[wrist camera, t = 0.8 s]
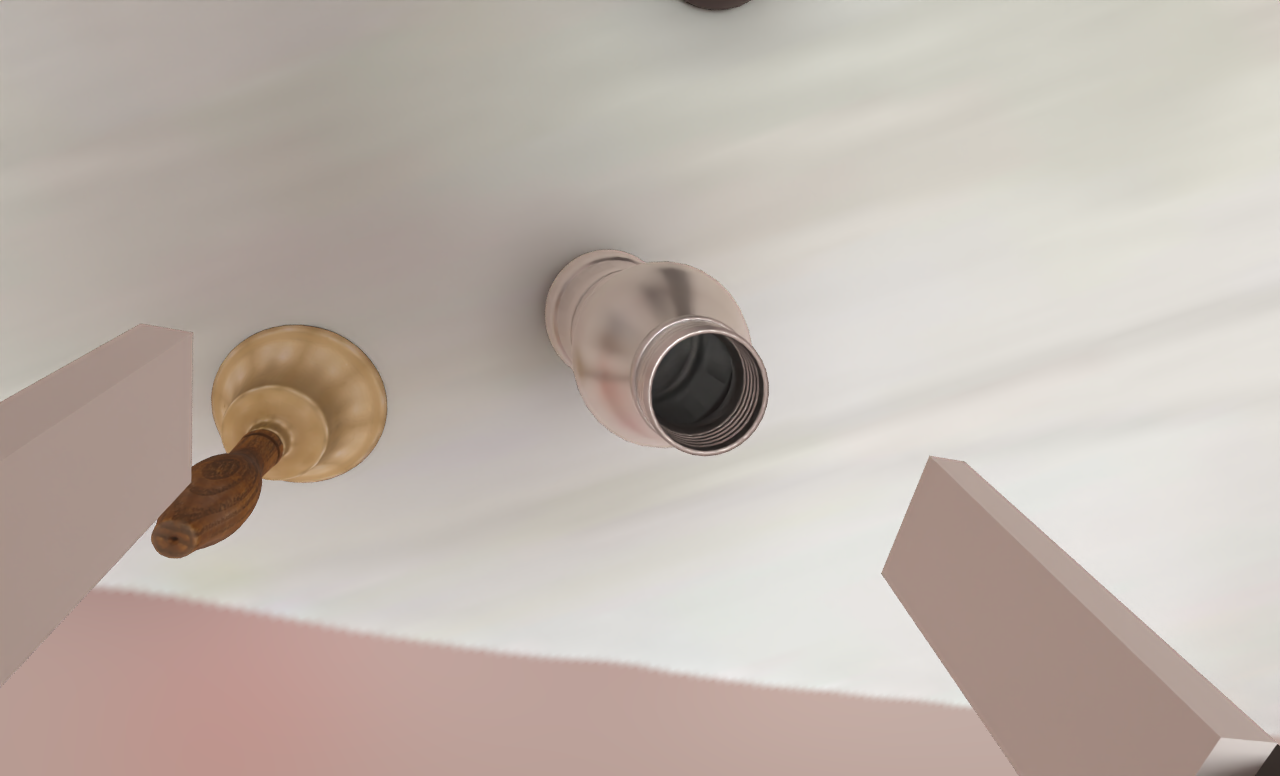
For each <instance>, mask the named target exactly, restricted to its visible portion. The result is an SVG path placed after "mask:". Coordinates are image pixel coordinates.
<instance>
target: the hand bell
mask: <svg viewBox="0 0 1280 776" xmlns="http://www.w3.org/2000/svg"><path fill="white" fill-rule="evenodd" d="M211 401H212V413H213V417H214V421H215V424H216V427H217V429H218V431H219V434H220V436H221V438H222V443H223V445H224V448H225V450H226V452H227V453H225V454H219V455H216V456H212V457H210V458H207V459H205V460H203V461H201V462H199V463H197V464H195V465H194V466H192V467H191V483H190V484H189V485H188V486H187V487H186V488H185V490H184V491H183V492H182V493H181V494H180V495H179V496H178V497H177V498H176V499H175V500H174V501H173V502H172V504H171V505H170V506H169V507H168V508H167V509H166V510H165V511H164V512H163V513H162V514H161V515H160V516H159V518H158V520H157V524H156V526H155V528H154V530H153V532H152V535H151V541H152V544H153V546H154V548H155V549H156V551H157V552H158V553H159V554H161V555H163V556H165V557H168V558H182V557H184V556H187V555H189V554H191V553H192V552H194V551H196V550H199V549H202V548H206V547H208V546H211V545H214V544H216V543H218V542H220V541H222V540H224V539H226V538H227V537H229V536H230V535H231V534H233V533H234V532H235V531H236V530H237V529H238V528H240V527H241V525H242V524H243V523H244V522H245V521H246V519H247V518H248V517H249V516H250V514H251V513H252V511H253V509H254V507H255V506H256V504H257V501H258V499H259V496H260V492H261V487H262V479H267V480H283V481H288V482H301V483H307V482H318V481H323V480H327V479H331V478H333V477H336V476H339V475H341V474H344V473H345V472H347V471H349V470H351V469H352V468H354V467H355V466H357V465H358V464H359V463H361V462H362V461H363V460H364V459H365V458H366V457H367V456H368V455H369V454H370V453H371V451H372V450H373V449H374V447H375V446H376V444H377V442H378V440H379V439H380V437H381V434H382V432H383V429H384V426H385V421H386V415H387V399H386V393H385V389H384V385H383V382H382V380H381V377H380V375H379V373H378V371H377V370H376V368H375V366H374V365H373V364H372V362H371V361H370V360H369V358H368V357H367V356H366V355H365V354H364V353H363V352H362V351H361V350H360V349H359V348H358V347H357V346H355V345H354V344H353V343H351V342H350V341H348V340H347V339H345V338H344V337H342V336H340V335H338V334H336V333H333V332H331V331H328V330H324V329H321V328H317V327H311V326H304V325H285V326H280V327H273V328H270V329H266V330H264V331H261V332H259V333H256V334H254V335H252V336H251V337H249V338H247V339H246V340H244V341H243V342H241V343H240V344H239V345H237V346H236V347H235V348H234V349H233V350H232V351H231V352H230V353H229V354H228V356H227V357H226V358H225V360H224V361H223V363H222V364H221V366H220V368H219V370H218V372H217V375H216V377H215V380H214V383H213V388H212V396H211Z"/></svg>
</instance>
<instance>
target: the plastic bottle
mask: <svg viewBox="0 0 1280 776" xmlns="http://www.w3.org/2000/svg"><path fill="white" fill-rule="evenodd" d="M545 324H546V330H547V333H548V337H549V340H550V342H551V344H552V346H553V348H554V350H555V352H556V353H557V354H558V355H559V357H560V358H561V359H562V361H563V362H564V363H566V364H567V365H568V366H569V367H570V368H571V369H572V370H573V372H574V376H575V379H576V383H577V387H578V390H579V392H580V394H581V396H582V398H583V400H584V402H585V404H586V406H587V408H588V409H589V410H590V412H591V413H592V414H593V415H594V417H595V418H596V419H597V421H598V422H600V423H601V424H602V425H603V426H604V427H605V428H607V429H608V430H609V431H610V432H611V433H613V434H615V435H617V436H619V437H620V438H622V439H624V440H626V441H629V442H632V443H635V444H638V445H641V446H648V447H657V448H672V447H675V448H677V449H678V450H681V451H683V452H686V453H689V454H692V455H699V456H711V455H718V454H722V453H725V452H728V451H730V450H732V449H734V448H736V447H738V446H739V445H740V444H742V443H743V442H744V441H745V440H747V439H748V438H749V437H750V436H751V434H752V433H753V432H754V431H755V430H756V428H757V427H758V425H759V423H760V422H761V420H762V418H763V415H764V413H765V410H766V407H767V402H768V396H769V382H768V377H767V372H766V369H765V367H764V364H763V362H762V359H761V358H760V356H759V355H758V353H757V352H756V350H755V349H754V348H753V346H752V343H751V338H750V333H749V329H748V327H747V324H746V322H745V319H744V317H743V315H742V312H741V310H740V308H739V306H738V305H737V303H736V302H735V300H734V299H733V297H732V296H731V294H730V293H729V292H728V291H727V290H726V289H725V288H724V287H723V286H722V285H721V284H720V283H719V282H718V281H717V280H716V279H714V278H713V277H711V276H710V275H708V274H706V273H705V272H703V271H702V270H699V269H697V268H694V267H691V266H689V265H686V264H681V263H675V262H669V261H664V262H648V263H645V262H644V261H642V260H641V259H639V258H638V257H636V256H634V255H631V254H629V253H626V252H623V251H617V250H611V249H610V250H596V251H593V252H589V253H585V254H583V255H581V256H579V257H577V258H575V259H574V260H573V261H571V262H570V263H569V264H567V265H566V266H565V267H564V268H563V269H562V270H561V272H560V273H559V274H558V275H557V276H556V278H555V280H554V282H553V284H552V285H551V287H550V290H549V293H548V296H547V299H546V306H545Z"/></svg>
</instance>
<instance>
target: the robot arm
mask: <svg viewBox="0 0 1280 776" xmlns="http://www.w3.org/2000/svg"><path fill="white" fill-rule="evenodd" d="M192 372H193V332H188V331H182V330H176V329H170V328H164V327H158V326H152V325H146V324H139V325H137V326H135V327H133V328H132V329H130V330H128V331H126V332H124V333H123V334H121V335H119V336H117V337H116V338H114V339H112V340H110V341H108V342H107V343H105V344H103V345H101V346H100V347H98V348H96V349H94V350H92V351H91V352H89V353H87V354H85V355H83V356H82V357H80V358H78V359H76V360H75V361H73V362H71V363H69V364H67V365H66V366H64V367H62V368H60V369H59V370H57V371H55V372H53V373H51V374H50V375H48V376H46V377H44V378H42V379H41V380H39V381H37V382H35V383H34V384H32V385H30V386H28V387H26V388H25V389H23V390H21V391H19V392H18V393H16V394H14V395H12V396H10V397H9V398H7V399H5V400H3V401H1V402H0V688H1V687H2V686H3V685H4V683H5V682H6V681H7V680H8V679H9V678H10V677H11V676H12V675H13V674H14V673H15V672H16V671H17V670H18V668H19V667H20V666H21V665H22V664H23V663H24V662H25V661H26V660H27V659H28V658H29V656H31V654H32V653H33V652H34V651H35V650H36V649H37V648H38V647H39V646H40V645H41V644H42V643H43V642H44V640H45V639H46V638H47V637H48V636H49V635H50V634H51V633H52V632H53V631H54V630H55V628H56V627H57V626H58V625H59V624H60V623H61V622H62V621H63V620H64V619H65V618H66V616H68V615H69V613H70V612H71V611H72V610H73V609H74V608H75V607H76V606H77V605H78V604H79V603H80V602H81V600H82V599H83V598H84V597H85V596H86V595H87V594H88V593H89V592H90V591H91V590H92V589H93V588H94V587H95V585H96V584H97V583H98V582H99V581H100V580H101V579H102V578H103V577H104V576H105V575H106V574H107V573H108V571H109V570H110V569H111V568H112V567H113V566H114V565H115V564H116V563H117V562H118V561H119V560H120V559H121V557H122V556H123V555H124V554H125V553H126V552H127V551H128V550H129V549H130V548H131V547H132V546H133V545H134V543H135V542H136V541H137V540H138V539H139V538H140V537H141V536H142V535H143V534H144V533H145V532H146V530H147V529H148V528H149V527H150V526H151V525H152V524H153V523H154V522H155V521H156V520H157V519H158V518H159V516H160V515H161V514H162V513H163V512H164V511H165V510H166V509H167V508H168V507H169V506H170V505H171V504H172V502H173V501H174V500H175V499H176V498H177V497H178V496H179V495H180V494H181V493H182V492H183V491H184V490H185V488H186V487H187V486H188V485H189V484H190V483H191V463H192ZM881 574H882V575H883V577H884V578H885V580H886V581H887V583H888V584H889V586H890V587H891V589H892V590H893V592H894V593H895V594H896V596H897V597H898V599H899V600H900V602H901V603H902V605H903V606H904V608H905V609H906V611H907V612H908V614H909V615H910V616H911V618H912V619H913V621H914V622H915V624H916V625H917V627H918V628H919V630H920V631H921V633H922V634H923V636H924V637H925V639H926V640H927V641H928V643H929V644H930V646H931V647H932V649H933V650H934V652H935V653H936V655H937V656H938V658H939V659H940V661H941V662H942V663H943V665H944V666H945V668H946V669H947V671H948V672H949V674H950V675H951V677H952V678H953V680H954V681H955V683H956V684H957V686H958V687H959V688H960V690H961V691H962V693H963V694H964V696H965V697H966V699H967V700H968V702H969V703H970V705H971V706H972V708H973V709H974V710H975V712H976V713H977V715H978V716H979V718H980V719H981V721H982V722H983V724H984V725H985V726H986V728H987V729H988V731H989V733H990V734H991V735H992V737H993V738H994V740H995V741H996V743H997V744H998V746H999V747H1000V749H1001V750H1002V752H1003V753H1004V754H1005V756H1006V757H1007V759H1008V760H1009V762H1010V763H1011V765H1012V766H1013V768H1014V769H1015V771H1016V772H1017V774H1018V775H1019V776H1280V746H1279V745H1278V744H1277V742H1276V741H1275V740H1274V739H1273V738H1272V737H1271V736H1269V735H1268V734H1267V733H1266V732H1265V731H1264V730H1263V729H1262V728H1261V727H1259V726H1258V725H1257V724H1256V723H1255V722H1254V721H1253V720H1252V719H1251V718H1249V717H1248V716H1247V715H1246V714H1245V713H1244V712H1243V711H1242V710H1241V709H1239V708H1238V707H1237V706H1236V705H1235V704H1234V703H1233V702H1232V701H1231V700H1229V699H1228V698H1227V697H1226V696H1225V695H1224V694H1223V693H1222V692H1221V691H1219V690H1218V689H1217V688H1216V687H1215V686H1214V685H1213V684H1212V683H1210V682H1209V681H1208V680H1207V679H1206V678H1205V677H1204V676H1203V675H1202V674H1200V673H1199V672H1198V671H1197V670H1196V669H1195V668H1194V667H1193V666H1192V665H1190V664H1189V663H1188V662H1187V661H1186V660H1185V659H1184V658H1183V657H1182V656H1180V655H1179V654H1178V653H1177V652H1176V651H1175V650H1174V649H1173V648H1172V647H1170V646H1169V645H1168V644H1167V643H1166V642H1165V641H1164V640H1163V639H1162V638H1160V637H1159V636H1158V635H1157V634H1156V633H1155V632H1154V631H1153V630H1152V629H1150V628H1149V627H1148V626H1147V625H1146V624H1145V623H1144V622H1143V621H1142V620H1140V619H1139V618H1138V617H1137V616H1136V615H1135V614H1134V613H1133V612H1131V611H1130V610H1129V609H1128V608H1127V607H1126V606H1125V605H1124V604H1123V603H1121V602H1120V601H1119V600H1118V599H1117V598H1116V597H1115V596H1114V595H1113V594H1111V593H1110V592H1109V591H1108V590H1107V589H1106V588H1105V587H1104V586H1103V585H1101V584H1100V583H1099V582H1098V581H1097V580H1096V579H1095V578H1094V577H1093V576H1091V575H1090V574H1089V573H1088V572H1087V571H1086V570H1085V569H1084V568H1083V567H1081V566H1080V565H1079V564H1078V563H1077V562H1076V561H1075V560H1074V559H1073V558H1071V557H1070V556H1069V555H1068V554H1067V553H1066V552H1065V551H1064V550H1063V549H1061V548H1060V547H1059V546H1058V545H1057V544H1056V543H1055V542H1054V541H1052V540H1051V539H1050V538H1049V537H1048V536H1047V535H1046V534H1045V533H1044V532H1042V531H1041V530H1040V529H1039V528H1038V527H1037V526H1036V525H1035V524H1034V523H1032V522H1031V521H1030V520H1029V519H1028V518H1027V517H1026V516H1025V515H1024V514H1022V513H1021V512H1020V511H1019V510H1018V509H1017V508H1016V507H1015V506H1014V505H1012V504H1011V503H1010V502H1009V501H1008V500H1007V499H1006V498H1005V497H1004V496H1002V495H1001V494H1000V493H999V492H998V491H997V490H996V489H995V488H994V487H992V486H991V485H990V484H989V483H988V482H987V481H986V480H985V479H983V478H982V477H981V476H980V475H979V474H978V473H977V472H976V471H975V470H973V469H972V468H971V467H970V466H969V465H968V464H967V463H966V462H964V461H958V460H952V459H946V458H940V457H934V456H929V458H928V461H927V463H926V466H925V468H924V471H923V473H922V475H921V478H920V480H919V483H918V485H917V488H916V490H915V492H914V495H913V497H912V500H911V502H910V505H909V507H908V510H907V512H906V514H905V517H904V519H903V522H902V524H901V527H900V529H899V532H898V534H897V536H896V539H895V541H894V544H893V546H892V549H891V551H890V553H889V556H888V558H887V561H886V563H885V566H884V568H883V571H882V573H881Z"/></svg>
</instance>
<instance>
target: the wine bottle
mask: <svg viewBox="0 0 1280 776" xmlns="http://www.w3.org/2000/svg"><path fill="white" fill-rule="evenodd" d="M684 1H686V2H688V3H690V4H692V5H694V6H697V7H700V8H705V9H710V10H723V9H730V8H734V7H738V6H741V5H743V4H745V3H747V2H749V1H751V0H684Z"/></svg>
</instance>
